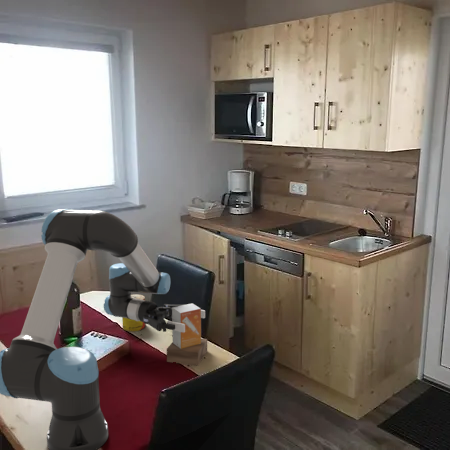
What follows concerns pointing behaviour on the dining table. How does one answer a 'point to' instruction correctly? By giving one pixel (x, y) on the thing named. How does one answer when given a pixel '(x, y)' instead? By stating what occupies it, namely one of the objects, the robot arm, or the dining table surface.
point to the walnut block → (187, 353)
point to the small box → (187, 325)
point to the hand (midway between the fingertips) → (195, 321)
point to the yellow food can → (133, 324)
